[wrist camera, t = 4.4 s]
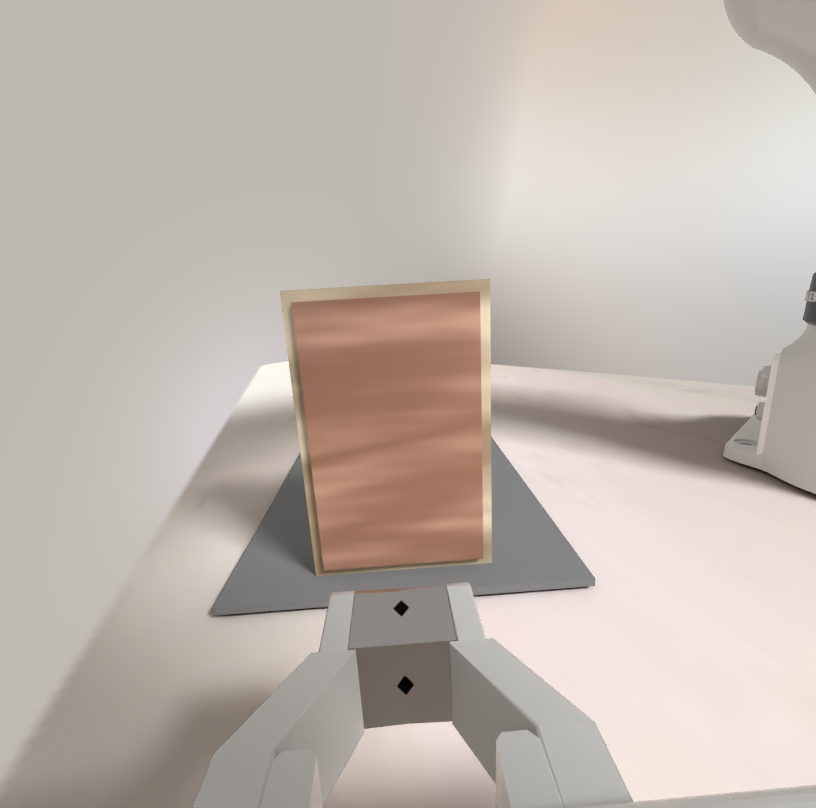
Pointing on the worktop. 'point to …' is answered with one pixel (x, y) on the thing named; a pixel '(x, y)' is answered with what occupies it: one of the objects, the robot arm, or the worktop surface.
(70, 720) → the worktop surface
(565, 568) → the rubber mat
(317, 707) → the robot arm
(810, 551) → the worktop surface
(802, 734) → the worktop surface
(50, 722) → the worktop surface
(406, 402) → the flat wooden block
